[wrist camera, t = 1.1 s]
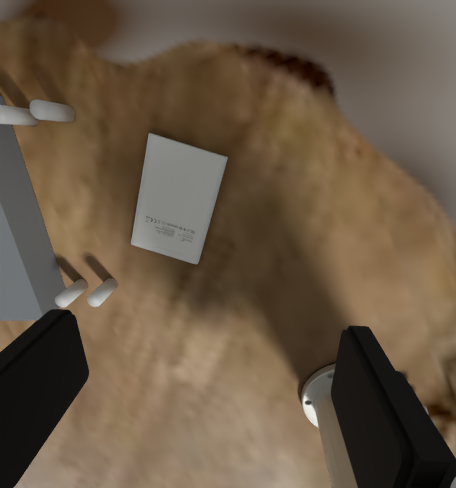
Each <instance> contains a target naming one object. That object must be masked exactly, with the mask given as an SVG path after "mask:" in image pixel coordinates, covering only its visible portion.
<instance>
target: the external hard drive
mask: <svg viewBox="0 0 456 488" xmlns="http://www.w3.org/2000/svg"><path fill="white" fill-rule="evenodd" d="M227 159H228V157H227V156H223V155H220V154H217V153H214V152H210V151H207V150H204V149H201V148H198V147H195V146H191V145H188V144H185V143H182V142H178V141H175V140H172V139H169V138H166V137H163V136H159V135H156V134H153V133H149V135H148V142H147V147H146V154H145V160H144V166H143V172H142V178H141V184H140V190H139V196H138V202H137V209H136V215H135V221H134V227H133V233H132V239H131V244H132V245H134V246H137V247H140V248H143V249H147V250H150V251H153V252H157V253H160V254H163V255H166V256H170V257H173V258H176V259H179V260H183V261H186V262H189V263H192V264H198V262H199V260H200V256H201V253H202V249H203V246H204V242H205V238H206V235H207V231H208V228H209V224H210V221H211V217H212V214H213V210H214V206H215V203H216V199H217V196H218V192H219V188H220V185H221V181H222V177H223V174H224V170H225V167H226V163H227Z"/></svg>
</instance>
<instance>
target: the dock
mask: <svg viewBox="0 0 456 488" xmlns="http://www.w3.org/2000/svg"><path fill="white" fill-rule="evenodd" d="M39 119H40V120H50V121H60V122H72V121H73V120H74V119H75V112H74V110H73V108H72V107H70V106H68V105H64V104H58V103H53V102H48V101H43V100H37V99H35V100H33V101H31V103H30V109H27V108H20V107H13V106H6V105H5V102H4V99H3V96H0V321H29V320H39V319H40V318H41V317H42V316H43V315H44V314H46V313H47V312H48V311H49V310H51V309H59V308H60V307H67V306H68V305H69V304H70V303H71V302H72V301H73V300H75V299H76V298H77V297H78V296H79V295H80V294H81V293H83V292H84V291H85V290H86V289H87V288H88V283H87V282H86V281H85V280H83V279H78V280H77V281H76V282H74V283H73V284H72V285H70V286H69V287H68V288H67V289H65V285H64V282H63V279H62V276H61V273H60V270H59V267H58V264H57V261H56V258H55V255H54V252H53V249H52V246H51V243H50V240H49V236H48V233H47V230H46V227H45V224H44V221H43V218H42V215H41V212H40V209H39V206H38V203H37V200H36V197H35V194H34V191H33V188H32V184H31V181H30V178H29V175H28V172H27V169H26V166H25V163H24V160H23V157H22V154H21V151H20V148H19V145H18V142H17V139H16V135H15V132H14V129H13V126H12V125H27V126H36V125H38V123H39ZM117 285H118V284H117V282H116V280H114V279H113V278H108V279H107V280H105V281H104V282H103V283H102V284H101V285H100V286H99V287H98V288H97V289H96V290H95V291H94V292H92V293H91V294H90V295H89V296H88V298H87V301H88V303H89V304H90V305H91V306H93V307H98V306H100V304H101V303H102V302H103V301H104V300H105V299H106V298H107V297H108V296H109V295H110V294H111V293H112V292H113V291H114V290H115V289H116V288H117Z"/></svg>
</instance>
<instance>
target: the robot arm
mask: <svg viewBox="0 0 456 488" xmlns="http://www.w3.org/2000/svg"><path fill="white" fill-rule="evenodd" d="M88 375H89V369H88V365H87V361H86V357H85V353H84V348H83V344H82V340H81V336H80V332H79V328H78V324H77V320H76V317H75V315H73V314H72V313H71V311H70V310H62V309H51V310H49V311H48V312H47V313H46V314H44V315H43V316H42V317H41V318H40V319H39V320H37V321H36V322H35V323H34V324H33V325H32V326H30V327H29V328H28V329H27V330H26V331H25V332H23V333H22V334H21V335H20V336H19V337H18V338H16V339H15V340H14V341H13V342H12V343H11V344H9V345H8V346H7V347H6V348H5V349H4V350H2V351H1V352H0V488H13V487H14V486H15V485H16V484H17V483H18V481H19V480H20V478H21V477H22V475H23V474H24V472H25V471H26V469H27V468H28V466H29V465H30V464H31V462H32V461H33V459H34V458H35V456H36V455H37V453H38V452H39V450H40V449H41V447H42V446H43V444H44V443H45V441H46V440H47V438H48V437H49V436H50V434H51V433H52V431H53V430H54V428H55V427H56V425H57V424H58V422H59V421H60V419H61V418H62V416H63V415H64V413H65V412H66V410H67V409H68V408H69V406H70V405H71V403H72V402H73V400H74V399H75V397H76V396H77V394H78V393H79V391H80V390H81V388H82V387H83V385H84V384H85V382H86V381H87V379H88ZM301 400H302V407H303V410H304V413H305V415H306V416H307V418H308V419H309V420H310V421H311V422H312V423H313V424H314V425H315V426H317V427H318V428H319V431H320V436H321V440H322V445H323V450H324V454H325V459H326V463H327V468H328V473H329V477H330V482H331V486H332V488H456V458H455V457H454V455H453V453H452V452H451V450H450V449H449V447H448V445H447V444H446V442H445V441H444V439H443V437H442V436H441V434H440V433H439V431H438V429H437V428H436V425H435V423H434V421H433V419H432V418H431V417H429V415H428V410H427V408H426V406H425V405H423V404H421V402H420V401H419V399H418V398H417V396H416V394H415V393H414V391H413V390H412V388H411V386H410V385H409V383H408V382H407V380H406V378H405V377H404V376H403V375H402V374H401V373H400V372H399V371H395V369H394V368H393V366H392V364H391V363H390V361H389V359H388V358H387V356H386V354H385V353H384V351H383V349H382V348H381V346H380V344H379V343H378V341H377V339H376V338H375V336H374V334H373V333H372V331H371V329H370V328H369V327H366V326H349V327H348V329H347V330H343V331H342V334H341V339H340V345H339V350H338V355H337V360H336V364H332V365H329V366H326V367H324V368H322V369H320V370H319V371H317V372H316V373H314V374H313V375H312V376H311V377H310V378H309V379H308V380H307V382H306V383H305V385H304V387H303V390H302V394H301Z"/></svg>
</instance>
